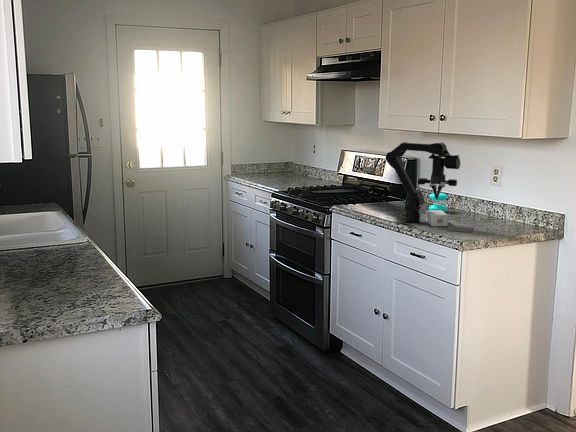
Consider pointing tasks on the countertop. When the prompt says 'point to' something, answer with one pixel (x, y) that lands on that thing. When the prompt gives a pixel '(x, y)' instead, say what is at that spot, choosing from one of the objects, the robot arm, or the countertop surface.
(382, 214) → the countertop surface
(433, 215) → the skincare box
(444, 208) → the donuts
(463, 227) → the mat
